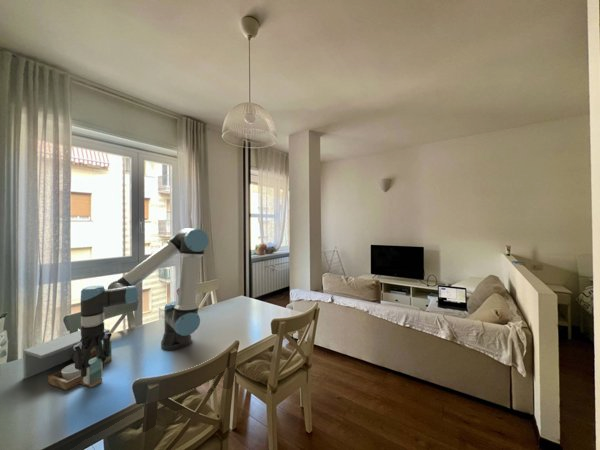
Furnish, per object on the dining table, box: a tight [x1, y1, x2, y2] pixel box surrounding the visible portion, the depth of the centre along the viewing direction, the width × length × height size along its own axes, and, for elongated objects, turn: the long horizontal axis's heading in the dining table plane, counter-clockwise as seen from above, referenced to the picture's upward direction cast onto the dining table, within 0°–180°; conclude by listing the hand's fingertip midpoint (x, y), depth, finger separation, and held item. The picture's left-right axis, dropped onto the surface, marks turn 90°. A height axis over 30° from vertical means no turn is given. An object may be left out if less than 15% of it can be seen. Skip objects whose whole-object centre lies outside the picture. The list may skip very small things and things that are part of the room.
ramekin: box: [60, 362, 81, 381], centre depth 108 cm, size 9×9×4 cm
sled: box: [46, 357, 103, 391], centre depth 106 cm, size 20×13×10 cm, turn 70°
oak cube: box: [81, 346, 96, 355], centre depth 123 cm, size 5×5×5 cm
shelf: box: [22, 328, 111, 379], centre depth 117 cm, size 14×26×12 cm, turn 160°
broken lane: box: [72, 339, 113, 365], centre depth 122 cm, size 18×9×10 cm, turn 70°
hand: (93, 379), depth 103 cm, fingers closed on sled, 4 cm apart
